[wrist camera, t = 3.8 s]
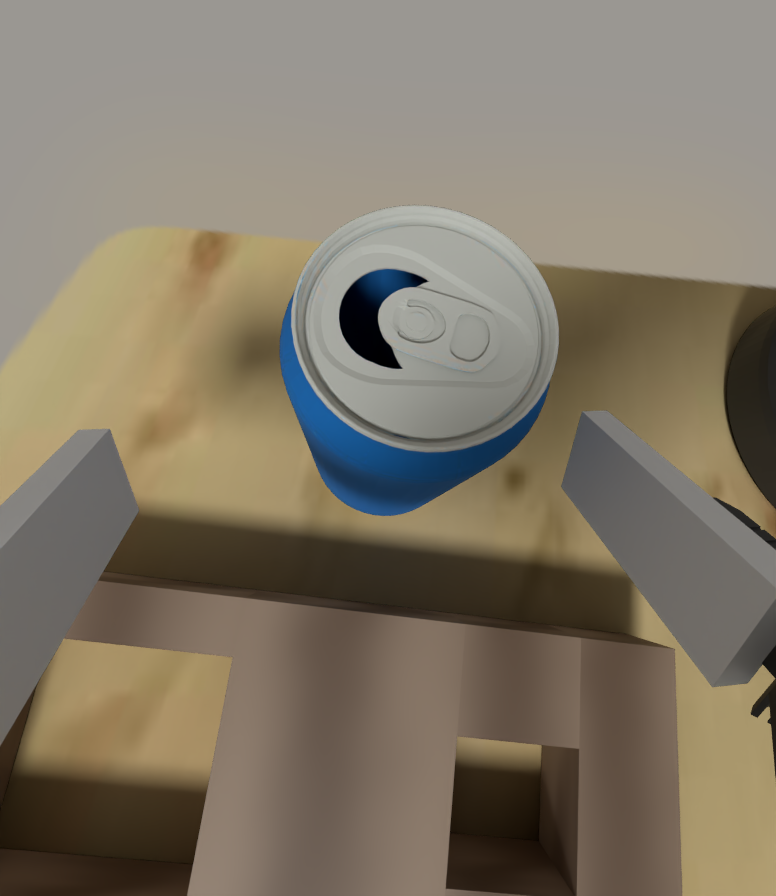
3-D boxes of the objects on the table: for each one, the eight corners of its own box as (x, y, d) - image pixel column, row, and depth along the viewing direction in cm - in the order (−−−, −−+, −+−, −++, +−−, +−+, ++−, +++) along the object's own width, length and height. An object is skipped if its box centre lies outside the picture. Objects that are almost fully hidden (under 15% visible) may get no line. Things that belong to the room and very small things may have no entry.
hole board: (626, 633, 20) (674, 649, 17) (628, 963, 17) (687, 1050, 14) (33, 562, 18) (-28, 565, 15) (-74, 910, 15) (-173, 995, 12)
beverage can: (339, 368, 21) (328, 151, 10) (464, 407, 21) (601, 238, 10) (296, 493, 20) (220, 415, 8) (431, 534, 20) (546, 515, 8)
